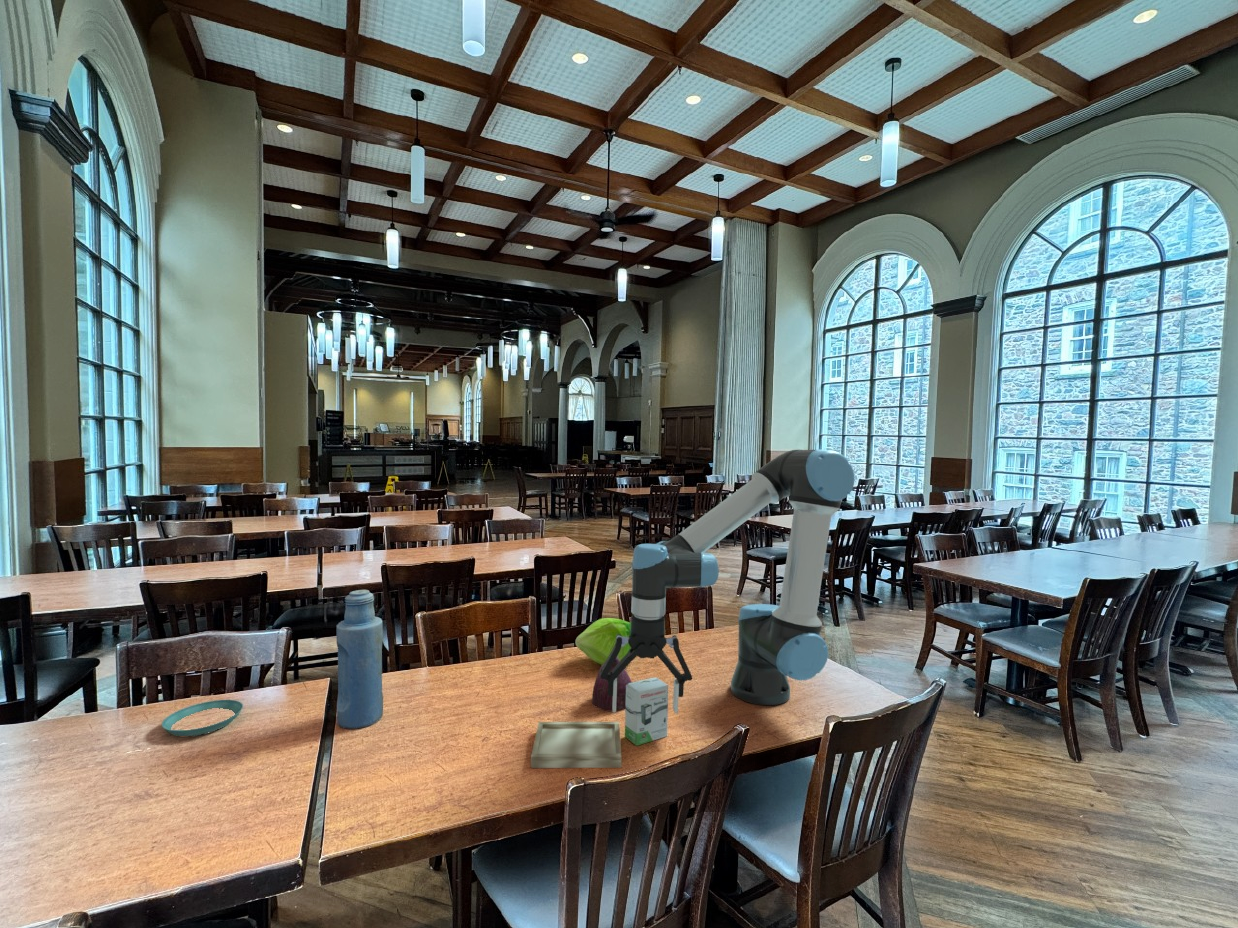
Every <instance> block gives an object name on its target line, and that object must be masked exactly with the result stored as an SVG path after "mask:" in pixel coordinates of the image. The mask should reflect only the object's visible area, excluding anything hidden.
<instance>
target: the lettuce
mask: <svg viewBox="0 0 1238 928" xmlns="http://www.w3.org/2000/svg"><path fill="white" fill-rule="evenodd" d="M630 632H631V621H630V622H629V621H626V620H623V619H620V618H614V617H613V618H612V617H604V618H603V617H602V618H599V619H598V620H595V621H593V623H591V624H590V625H589V626H588V627H587V628H586V629H584V630H583V632H581V633H580V634H579V635H578V636H577V637H576V639H575V646H576V647H577V649H579V650H580V651H581V652H582V653H584V654H585V656H586V657H588V659H591V661H593V662H595V663H596V664H598V665H601V666H602V665H603V663H604V662H605V661H606V660H607V658H608V656H609V655H610V653H611V651H612V649H613V647H614V645H615V642H616V636H617V635H618V634H620V635H621V636H623V637H629V636H630ZM630 649H631V647H630V645H629V643H626V644H625V646H624V647H621V649H620V652H619V654H618V656H617V657H618V659H619V661H621V659H622V658H623V657H624V656H625V655H626V654H627V653H628V651H629V650H630Z"/></svg>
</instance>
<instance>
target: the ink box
mask: <svg viewBox="0 0 1238 928" xmlns="http://www.w3.org/2000/svg"><path fill="white" fill-rule="evenodd" d="M624 711H625V715H624V716H625V718H624V719H625V720H624V737H625V738H626V739H627V740H629V742H631V743H632V744H634V745H635V746H636V747H637V746H640V745H643V744H647V743H650V742H653V741H655V740H656V741H657V740H659V739H662V738H667V737H668V714H669V684H667V683H666V682H664V681H663V680H661V679H659V677H651V678H645V679H641V680H637V681H633V682H632V681H631V683H628V685H626V709H624Z"/></svg>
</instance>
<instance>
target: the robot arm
mask: <svg viewBox="0 0 1238 928" xmlns="http://www.w3.org/2000/svg"><path fill="white" fill-rule="evenodd" d="M854 485H855V471H854V469H853V466H852V464H851V462H849V460H848V458H847V457H846V456H845V455H844V454H842V453H840V452H838V451H835V450H828V449H826V448H824V449H821V448H818V449H792V450H789V451H785V452H783V453H782V454H780V455H777V456H776V457H774V458H773V459H771V460H770V461H769V462H767V463H766V464H765V465H763V466H762V467H760V468H759V469H758V470H757V471H755V472H753V473H752V474H751V480H749V481H748V482H747V483H745V484H744V485H742V486H741V487H740V488H738V489H737V490H736V491H735V492H734V493H732V494H730V495H729V496H728V497H727V498H725V499H724V500H723V501H721V502H720V503H718V504H716V506H715V507H713V508H711V509H710V510H709V511H708V512H706V513H705V514H703V516H701V517H699V519H697V520H695V521H694V522H692V524H690V525H689V526H687V527H686V528H685V529H684V530H681V532H680V533H678V534H677V535H675V536H673V537H672V538H671V539H670V540H661V541H659V542H657V543H641V544H638V545H636V546H635V547H634V550H633V555H632V564H631V567H632V570H631V572H632V574H631V575H632V576H631V579H632V580H631V585H632V586H631V587H632V589H631V602H630V603H631V608H630V609H631V610H630V612H631V616H630V623H631V632H630V636H629V637H623V636H621V635H620V634H618V635H617V636H616V642H615V645H614V647H613V649H612V651H611V653H610V655H609V656H608V658H607V660H606V662H605V664H604V666H603V668H602V669H601V671H600V677H601V679H606V680H607V681H608V695H609V696H613V704H612V709H613V711H612V713H617V711H616V700H617V677H618V676H619V674H620V673H621V672H622V671H623V670H624V669H625V670H626V668H627V667H628V665H629V664H630V663H632V661H634V660H635V659H636V658H637V657H638V658H639V659H646V658H648V659H655V658H656V657H658V658H659V660H660V661H661V662H662V663H663V664H664V665H665V667H666V668H667V669H668V670H669V671H670V673H671V674H672V675H673V677H674V679H673V691H672V692H673V693H672V694H673V695H672V696H673V697H672V698H673V700H672V708H673V713H674V714H679V698H682V697H684V690H685V689H684V688H685V687H684V685H685V682H688V681H690V682H691V681H692V680H693V676H692V673H691V670H690V668H689V667H688V664H687V662H686V660H685V658H684V656H683V654H682V652H681V651H682V650H681V649H680V643H679V642H680V641H679V639H678V636H677V635H674V634H673V635H672V636H671V637H666V636H665V631H666V629H665V627H666V618H665V615H666V601H667V600H666V597H667V596H666V595H667V589H672V588H698V587H699V588H704V587H711V586H714V585H715V584H716V583H717V582H718V578H719V574H720V573H719V569H720V567H719V563H718V560H717V558H716V556H715V554H713V553H710V552H707V551H708V550H710V549H711V548H713V546H715V545H716V544H718V543H719V542H720V541H722V540H724V538H726V536H729V535H730V534H731V533H733V532H734V531H735V530H736V529H737V528H738V527H741V525H743V524H744V523H745V522H747V521H748V520H749V519H751V518H752V517H754V516H755V515H756V514H758V513H759V512H761V511H762V510H763V509H764V508H765V507H767V505H769V504H777V503H779V502H780V501H782V500H783V499H785V498H788V497H789V499H788V503H789V504H790V505H791V507H792V509H793V515H792V520H791V521H792V523H791V528H790V533H789V534H790V536H789V540H788V541H789V542H788V548H787V555H786V561H785V565H784V566H785V567H784V573H783V579H782V586H781V594H780V601H779V605H776V604H767V603H766V604H764V603H755V604H747V605H744V606H742V607H740V609H739V614H738V643H737V644H738V649H737V650H738V651H737V652H738V653H737V654H738V655H737V656H738V657H737V664H736V666H735V669H734V672H733V675H732V678H731V680H730V691H731V693H732V695H733V696H735V697H736V698H737V699H740V700H741V701H744V702H747V703H750V704H754V705H758V706H759V705H760V706H776V705H781V704H784V703H786V702H788V701H789V699H790V698H791V686H790V683H789V680H788V677H789V678H791V679H792V680H796V681H801V682H802V681H807V680H811V679H812V678H815V677H816V675H817V674H820V673H821V671H822V670H823V669H824V667H826V664H827V661H828V658H829V647H828V645H827V643H826V641H825V640H824V638H823V637H822V636H821V634H822V633H821V632H822V626H823V622H822V621H821V619H820V618H819V616H818V615H817V614H818V613H817V612H818V607H819V602H820V601H819V600H820V595H821V588H822V587H821V586H822V580H823V576H824V575H823V574H824V567H825V560H826V554H827V547H828V541H829V534H830V529H831V523H832V522H831V521H832V516H833V515H834V514H835V513H837V512H838V511H840V509H841V508H840V507H841V501H842V500H844V499H845V498H847V497H848V495H849V494H850V493H852V490H853V488H854ZM626 643H629V645H630V647H631V649H630V650H629V651H628V653H627V654H626V655H625V656H624V657H623V658H622V659H621V661H620V662H619V663H618V664H617V665H616V666H615V667H614V668H613V669H612V671H611V672H610V673H609V670H610V669H611V667H612V665H613V663H614V661H615V659H616V657H617V656H618V654H619V652H620V649H621V647H624V646H625V644H626ZM666 645H669V647H670V648H671V649H673V652H674V653H675V655H676V658H677V660H678V662H679V664H680V667H681V670H682V671H683V673H681V671H680V670H679V669H678V668H677V666H676V665H674V663H673V661H671V659H670V658H669V657H668V655H667V654H666V653H665V651H664V648H665V647H666Z"/></svg>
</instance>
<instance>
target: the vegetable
mask: <svg viewBox="0 0 1238 928" xmlns="http://www.w3.org/2000/svg"><path fill="white" fill-rule="evenodd" d="M605 662H606V661H605ZM605 662H604V663H603V665H601V666H600V668H599V669H598V671H597V675H596V678H595V680H594V685H593V689H592V697H591V704H592V705H593V706H594V707H595V708H598V709H601V710H602V711H609V712H613V709H612V704H613V696H609V695H608V681H607V680H606V679H601V677H600V671H601V669H602V668H603V666H604V664H605ZM619 662H620V661H619V659H618V657H616V659H615V661H614V663H613V665H612V667H611V669H610V670H609V673H610V672H611V671H612V669H613V668H614V667H615V666H616V665H617V664H618V663H619ZM628 683H632V680H631V677H630V675H629V673H628V672H627V670H626V668H625V669H624V670H623V671H622V672H621V673H620V674H619V676H618V677H617V700H616V712H618V711H622V710H625V709H626V685H628Z"/></svg>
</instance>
